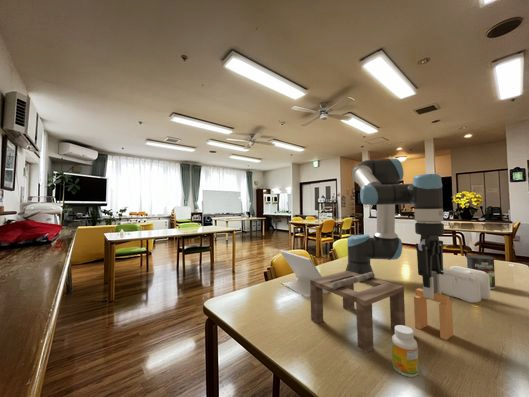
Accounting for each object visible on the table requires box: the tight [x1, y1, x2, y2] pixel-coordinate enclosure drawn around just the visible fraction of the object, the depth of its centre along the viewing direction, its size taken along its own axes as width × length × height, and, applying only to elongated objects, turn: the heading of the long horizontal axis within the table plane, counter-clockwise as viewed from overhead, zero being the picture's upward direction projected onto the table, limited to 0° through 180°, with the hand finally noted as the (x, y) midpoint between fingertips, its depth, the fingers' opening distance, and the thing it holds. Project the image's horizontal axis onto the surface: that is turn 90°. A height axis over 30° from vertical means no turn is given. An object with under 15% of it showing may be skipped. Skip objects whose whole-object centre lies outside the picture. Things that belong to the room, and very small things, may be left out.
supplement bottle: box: [391, 325, 419, 378], centre depth 56 cm, size 5×5×10 cm
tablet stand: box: [280, 250, 330, 299], centre depth 116 cm, size 18×25×17 cm
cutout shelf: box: [310, 270, 406, 353], centre depth 77 cm, size 22×20×16 cm
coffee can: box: [465, 253, 497, 290], centre depth 112 cm, size 10×10×14 cm
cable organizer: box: [439, 265, 492, 304], centre depth 98 cm, size 15×11×12 cm
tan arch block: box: [413, 271, 454, 341], centre depth 73 cm, size 8×5×18 cm, turn 32°
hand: (432, 295), depth 73 cm, fingers closed on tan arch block, 4 cm apart
